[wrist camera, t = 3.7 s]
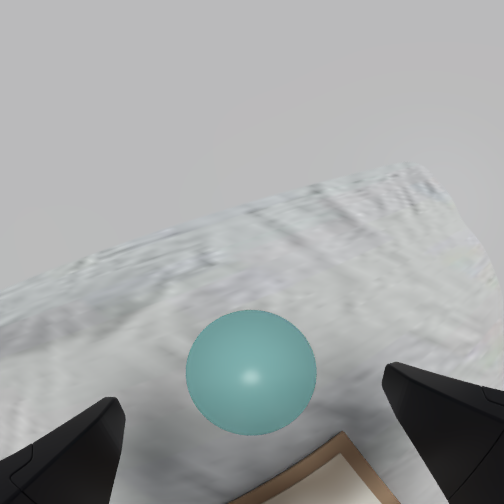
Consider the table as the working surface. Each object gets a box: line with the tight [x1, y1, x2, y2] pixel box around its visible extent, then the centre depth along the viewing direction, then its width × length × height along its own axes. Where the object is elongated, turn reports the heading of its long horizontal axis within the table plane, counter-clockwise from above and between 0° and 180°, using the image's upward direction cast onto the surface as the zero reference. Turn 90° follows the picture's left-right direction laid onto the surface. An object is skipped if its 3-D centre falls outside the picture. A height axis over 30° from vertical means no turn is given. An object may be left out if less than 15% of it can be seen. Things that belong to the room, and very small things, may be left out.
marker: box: [186, 310, 317, 435], centre depth 13 cm, size 4×4×11 cm
